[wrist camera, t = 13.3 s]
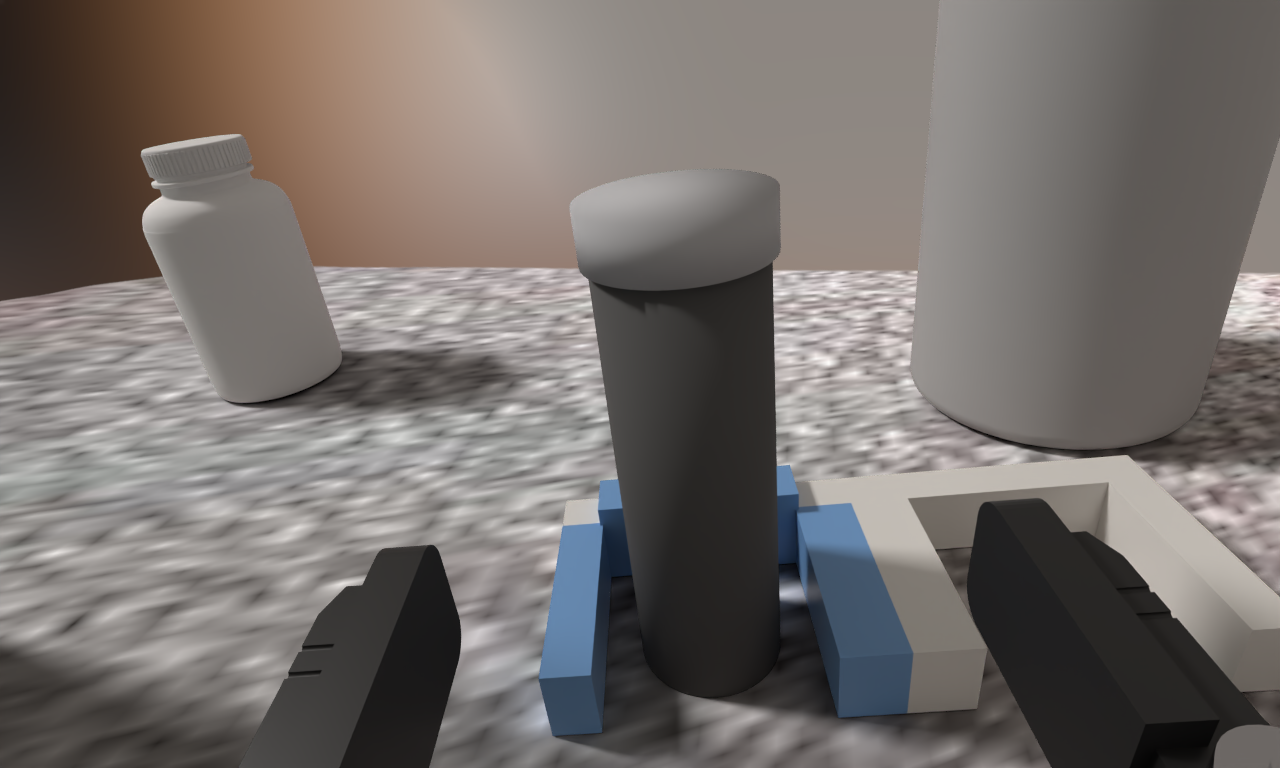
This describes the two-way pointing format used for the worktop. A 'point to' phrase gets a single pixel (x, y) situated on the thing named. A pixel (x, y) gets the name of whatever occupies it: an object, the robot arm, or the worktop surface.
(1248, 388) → the worktop surface
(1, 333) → the worktop surface
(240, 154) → the pill bottle
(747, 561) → the grey capped cylinder
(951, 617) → the blue grey comb bracket
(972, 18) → the cylinder vase
